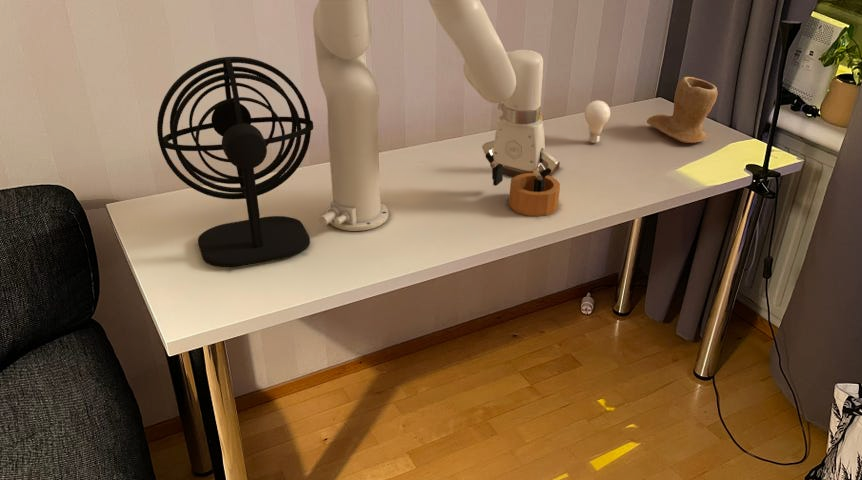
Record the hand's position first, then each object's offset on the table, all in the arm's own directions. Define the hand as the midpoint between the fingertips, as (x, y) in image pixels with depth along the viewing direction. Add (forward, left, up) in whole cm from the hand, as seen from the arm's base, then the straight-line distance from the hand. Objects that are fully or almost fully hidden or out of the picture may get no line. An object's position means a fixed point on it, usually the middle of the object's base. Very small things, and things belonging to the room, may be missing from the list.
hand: (517, 188), depth 169 cm
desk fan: (-44, +34, -3) cm, 56 cm away
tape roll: (0, -4, -3) cm, 5 cm away
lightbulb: (+39, -2, -3) cm, 39 cm away
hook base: (+15, +4, -3) cm, 15 cm away
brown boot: (+57, -19, -3) cm, 60 cm away
